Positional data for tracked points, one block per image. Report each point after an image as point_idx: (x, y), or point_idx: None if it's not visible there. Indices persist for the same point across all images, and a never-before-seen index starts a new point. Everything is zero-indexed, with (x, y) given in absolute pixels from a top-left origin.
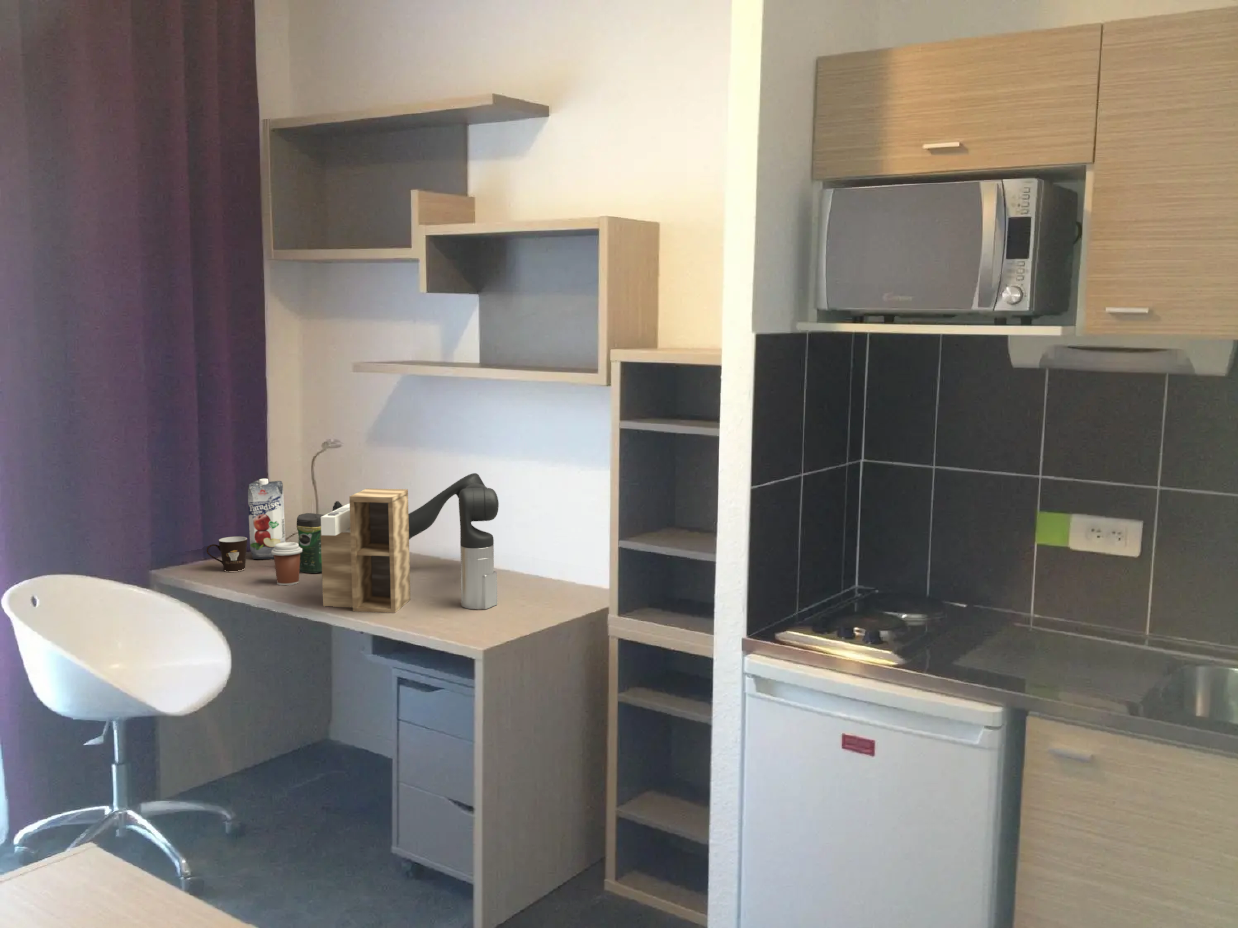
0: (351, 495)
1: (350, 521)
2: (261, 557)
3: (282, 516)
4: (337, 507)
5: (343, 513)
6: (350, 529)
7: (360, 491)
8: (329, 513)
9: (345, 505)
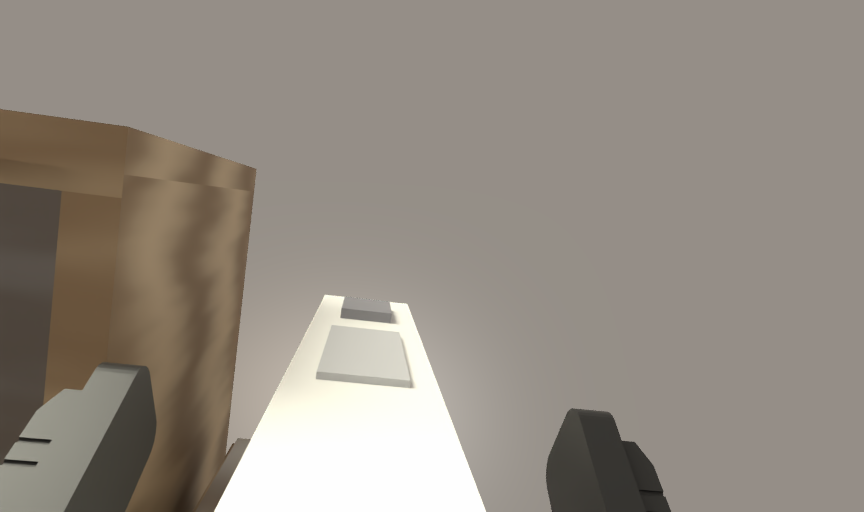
0: (248, 166)
1: (237, 321)
2: None
3: None
4: (549, 477)
5: (312, 322)
6: (233, 370)
7: (198, 150)
8: (385, 304)
9: (459, 465)
